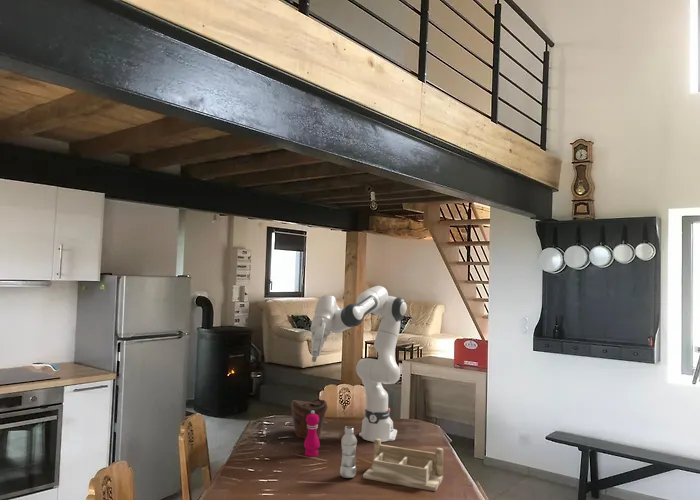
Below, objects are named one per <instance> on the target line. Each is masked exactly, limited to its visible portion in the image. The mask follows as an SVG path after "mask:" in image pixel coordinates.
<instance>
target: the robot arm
mask: <svg viewBox="0 0 700 500" xmlns="http://www.w3.org/2000/svg"><path fill="white" fill-rule="evenodd" d="M356 297H357V298H356V299H355V303H349V304H347V305H346V306H343V307H341V308H340V307H339V306H338V303H337V300H336V299H337V298H336V297H335V296H333V295H327V294H326V295H322V296H320V297H319V298H318V300H317V303H316V305H315V309H314V316H313V318H312V320H311V324H310V325H311V326H310V329H309V330H310V332H311V339H312V341H311V342H312V343H311V353H310V354H311V356H312V358H311V362H312V363H317V359H318V357H320V355H321V353H322V350H323V347H324V343H325V342H326V341H327V339H328V337H329V336H330V334H331V332H332V333H335V334H339V333H342V332H344V331H346V330H349V329H351V328H354V327H357V326H360V325H361V324H362V322H363V321H364V319H365V317H366V316H367V315H372V316H376V317H377V316H378V317H381V318H382V319H381V321H380V323H379V326H378V329H377V332H376V335H375V339H374V343H373V346H374V349H375V350H376V351H377V355H378V356H377V359H376V358H370V357H368V358H367V357H366V358H361V359H358V362H357V363H356V366H355V372H356V374H357V376H358V377H359V379H360V380H361V381H362V385H363V387H364V391H365V401H366V402H365V404H366V405H365V409H364V410H365V411H364V418H363V419H362V420H361V422H362V423H361V432H359V433H358V436H359V437H361V438H362V439H363V440H364V441H365V440H366V441H369V442H372V443H374V439H381V443H383V442H391V441H395V440H396V438H397V434H398V430H397V429H395V428H394V421H393V420H392V419H391V416H390V412H391V408H390V407H389V393H388V391H386V390H385V389H384V387H383V384H384V385H393V384H396V383H398V381H399V380H400V377H401V369H400V367H399V365H398V364H397V361H396V354H395V352H396V347H397V343H398V339H399V336H400V330H401V321H402V319H403V318H404V317H405V316H406V314H407V311H408V304H407V302H406V299H404V298H401V297H396V296H392V295H389V292H388V290H387V289H386V287H384V286H382V285H376V286H372V287H369V288H367V289H366V290H364V291H363V292H361V293H360V294H359V295H358V296H356Z"/></svg>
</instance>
